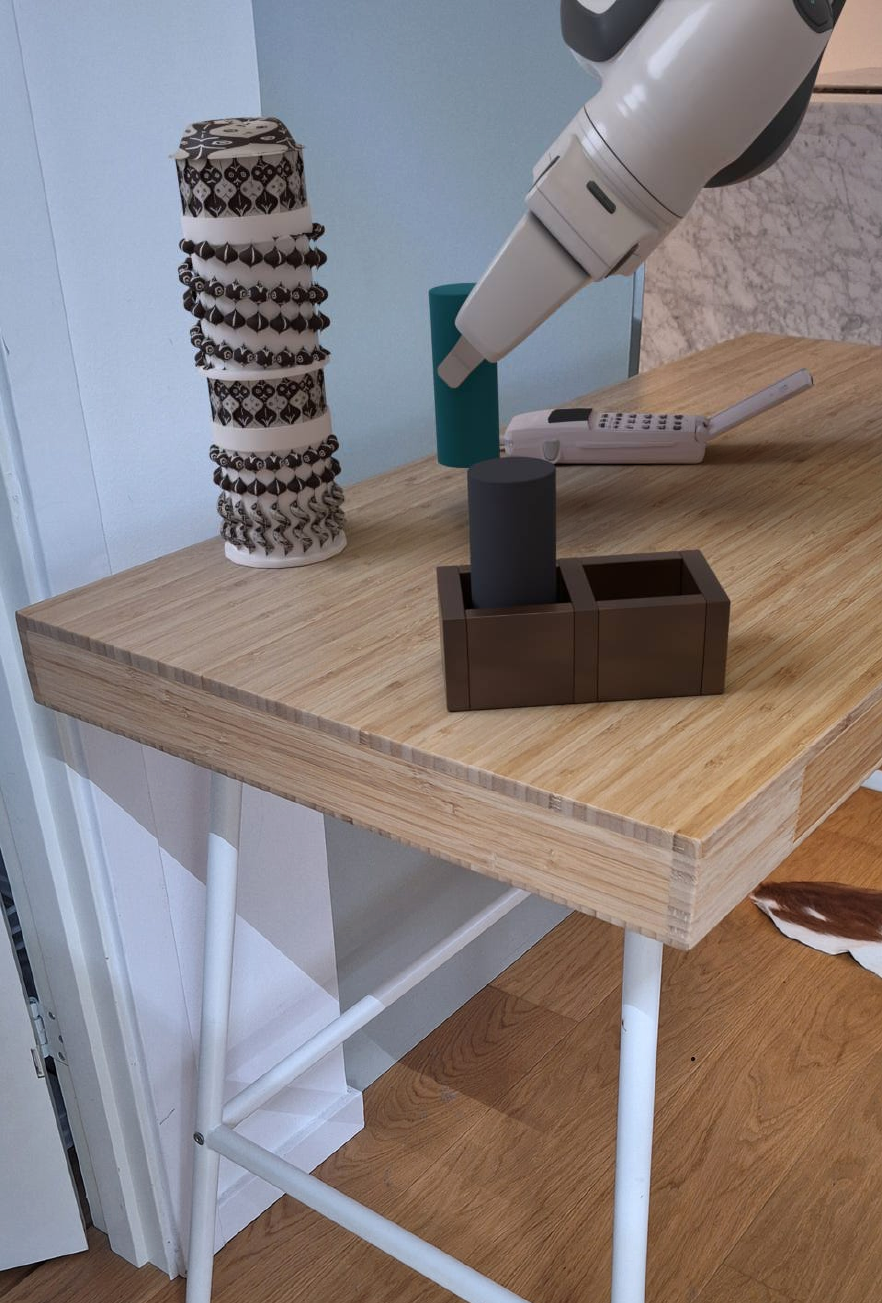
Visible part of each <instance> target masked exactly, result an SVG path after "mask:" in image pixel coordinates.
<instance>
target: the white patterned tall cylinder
mask: <svg viewBox="0 0 882 1303" xmlns="http://www.w3.org/2000/svg"><path fill="white" fill-rule="evenodd" d="M306 148H307V147H306V145H304V144H300V143H298V142H297V141H295V138H294V137H293V135H292V134H291V132H290V130H289V128H288V127H287V125H286V124H284V122H283V121H282V120H280V119H279V118H277V117H274V116H273V117H271V116H247V117H246V116H245V117H230V118H220V119H210V120H209V119H208V120H202V121H197V122H193V123H189V125H187V126H186V127H185V129H184V131H183V133H182V136H181V139H180V142H179V146H178V148H177V150H176V151H175V152H174V153H172V154H169V155H168V159H173V160H174V161H175V168H176V174H177V181H178V189H179V196H180V201H181V210H182V211H181V212H180V222H181V229H182V236H183V238H182V239H180V241H179V242H178V248H179V250H180V251H182V252H183V253H184V254H187V255H188V256H187V257H185V260H184V261H182V262H181V263H180V264H179V265H178V267H177V272H178V280H179V282H180V283H181V284H182V285H184V286H186V287H189V288H188V289H186V290H185V291H184V292H183V294H182V300H183V302H182V306H183V309H184V310H185V311H187V312H189V313H190V314H191V315H192V316H193V317H194V318H196V319H197V322H196V324H194V325H193V326H191V327H190V330H189V334H190V343H191V345H192V346H193V347H195V348H196V349H199V350H198V352H197V353H195V355H194V357H193V359H194V361H195V362H194V366H195V367H196V368H197V370H198V374H199V375H200V376H203V377H206V382H207V390H208V397H209V398H208V399H209V403H210V410H211V415H209V418H210V419H209V422H210V423H209V424H210V428H211V435H212V436H211V437H212V444H211V446H210V447H209V454H208V457H209V459H210V460H211V461H212V462H214V463H216V464H217V465H218V467H217V468H215V469H214V471H213V478H212V481H213V483H214V484H215V486H218V487H219V488H220V489H221V490H223V491H222V492H220V494H219V496H218V498H217V501H216V511H217V513H218V515H219V516H220V517H221V518H222V519H221V522H220V528H219V533H220V535H221V537H222V539H224V540H225V543H224V552H225V553H224V554H225V558H226V559H228V560H229V561H231V562H233V563H234V564H236V565H241V566H245V567H250V568H255V569H256V568H259V569H260V568H261V569H283V568H291V567H293V568H294V567H302V566H307V565H310V564H315V563H319V562H322V561H325V560H328V559H330V558H332V557H334V556H336V555H339V554H340V553H341V552H342V551H344V549H345V548H346V547H347V545H348V541H347V536H346V534H345V531H344V530H342V529H343V528H344V527H345V526H346V524H347V521H348V520H347V518H346V517H345V516H346V514H345V511H344V509H342V508H341V507H340V506H341V505H342V504H344V502H345V501H346V500H345V499H346V498H345V495H344V490H343V488H342V486H340V485H339V484H338V483H337V482H335V478H336V477H337V476H339V475H340V474H341V472H342V467H341V465H340V461H339V460H338V459H337V458H335V457H333V456H332V455H333V454H334V453H336V452H337V451H338V450H339V448H340V442H339V440H338V437H337V436H336V435H335V434H334V433H333V426H332V424H333V423H332V416H331V414H332V413H331V409H330V407H329V405H328V403H327V402H328V401H327V390H326V389H327V388H326V380H325V379H326V378H325V370H324V367H326V366H327V365H328V364H329V363H331V358H330V355H332V353H331V352H330V351H329V350H328V349H326V348H324V347H323V346H322V344H321V343H320V340H319V334H320V336H321V334H322V332H323V331H324V330H325V329H327V328H328V327H330V325H331V318H330V317H328V316H327V315H325V313H322V311H321V310H320V309H316V304H317V306H318V307H319V308H320V306H321V304H323V303H325V301H326V300H327V299H328V298H329V291H328V289H327V288H325V287H323V286H321V285H320V284H319V283H318V282H316V281H314V279H313V269H312V268H314V267H315V268H316V271H319V269H320V268H321V267H322V266H323V265H325V264H326V263H327V261H328V255H327V254H326V252H324V251H322V250H321V249H319V248H318V246H317V245H316V246H314V245H313V246H314V247H313V248H314V249H312V247H311V245H310V241H311V240H312V241H313V243H316V242H317V240H318V239H319V238H321V237H322V236H323V235H325V231H326V228H325V225H322V224H320V223H319V222H313V215H312V206H311V204H310V203H309V202H308V194H307V186H306V185H307V184H306V173H305V162H304V153H303V150H304V149H306ZM192 272H193V273H192Z"/></svg>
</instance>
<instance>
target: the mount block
mask: <svg viewBox="0 0 882 1303" xmlns="http://www.w3.org/2000/svg"><path fill="white" fill-rule="evenodd" d="M435 570H436V588H437V604H438V606H437V607H438V621H439V622H438V624H439V626H438V627H439V643H440V644H439V645H440V656H441V666H442V675H443V685H444V686H443V687H444V695H445V696H444V697H445V703H446V704H445V705H446V711H447V712H458V711H459V712H460V711H470V710H471V711H473V710H474V711H475V710H487V709H505V708H506V709H507V708H518V707H520V708H521V707H533V706H534V707H535V706H550V705H551V706H552V705H566V704H581V703H582V704H584V703H596V702H609V701H623V700H624V701H625V700H639V699H654V698H655V699H656V698H669V697H686V696H699V695H703V696H704V695H716V694H717V695H718V694H720V695H721V694H724V693H725V685H726V684H725V683H726V673H727V672H726V670H727V656H728V644H729V632H730V631H729V630H730V619H731V618H730V617H731V616H730V615H731V604H732V603H731V601H732V600H731V599H730V598H729V595H728V594H727V592H726V590H725V589H724V587H723V585H722V584H721V582H720V581H719V579H718V578H717V576H716V574H715V572H714V571H713V569H712V567H711V566H710V564H709V562H708V561H707V559H706V557H705V555H704V554H703V553H702V551H701V549H686V550H679V551H678V550H671V551H669V550H667V551H655V552H654V551H653V552H638V553H623V554H621V553H620V554H607V555H606V554H605V555H591V556H580V557H579V556H577V557H576V556H575V557H561V558H560V557H559V558H556V604H544V605H529V606H514V607H498V608H483V609H472V587H471V563H469V564H460V565H457V564H456V565H455V564H454V565H440V566H436V567H435Z"/></svg>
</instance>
